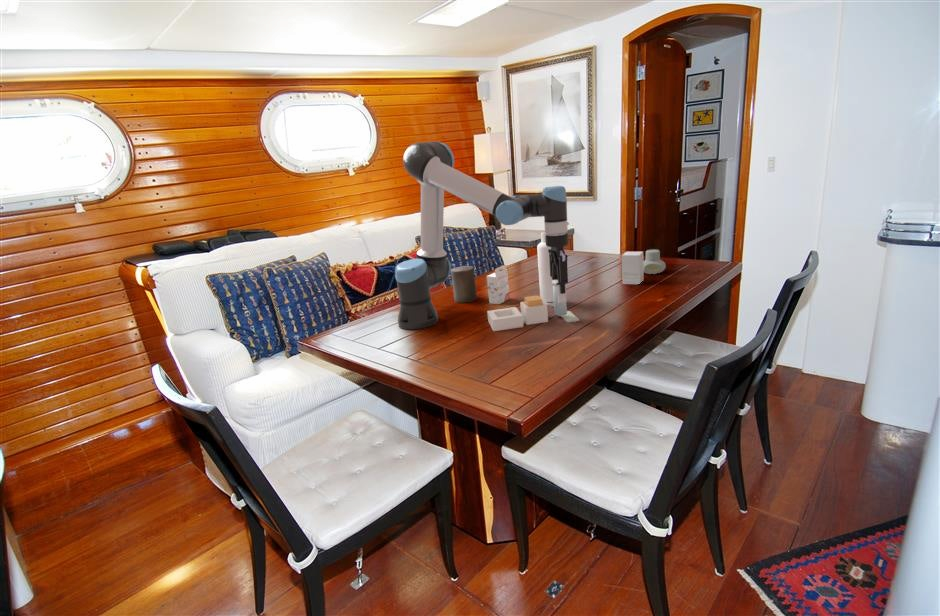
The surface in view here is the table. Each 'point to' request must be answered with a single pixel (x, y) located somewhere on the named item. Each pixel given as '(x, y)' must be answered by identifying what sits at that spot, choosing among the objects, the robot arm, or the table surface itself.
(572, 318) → the rubber mat
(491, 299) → the ink cartridge box
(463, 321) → the table surface
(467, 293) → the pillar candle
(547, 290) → the bottle
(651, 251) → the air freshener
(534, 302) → the plunger
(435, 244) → the robot arm
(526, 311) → the white compartment holder
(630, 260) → the supplement box
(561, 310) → the grey rounded cylinder
